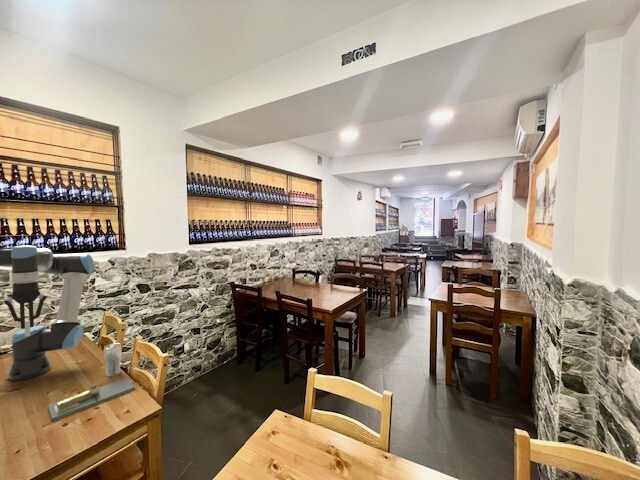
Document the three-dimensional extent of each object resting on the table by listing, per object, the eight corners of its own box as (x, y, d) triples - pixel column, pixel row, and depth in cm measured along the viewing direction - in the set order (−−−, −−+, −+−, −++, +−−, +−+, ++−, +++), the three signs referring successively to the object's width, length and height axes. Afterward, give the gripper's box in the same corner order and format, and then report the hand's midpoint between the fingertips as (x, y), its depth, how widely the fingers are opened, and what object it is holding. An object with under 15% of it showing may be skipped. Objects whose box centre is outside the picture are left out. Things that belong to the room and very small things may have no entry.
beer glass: (112, 378, 137) (111, 349, 136) (101, 376, 138) (100, 347, 137) (125, 371, 144) (124, 343, 143) (114, 369, 145) (113, 342, 144)
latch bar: (100, 393, 121) (100, 385, 121) (59, 411, 110) (59, 402, 109) (97, 391, 123) (97, 383, 123) (56, 407, 112) (56, 399, 111)
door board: (48, 407, 114) (48, 404, 114) (127, 379, 135) (127, 377, 135) (52, 421, 106) (51, 418, 106) (134, 389, 128) (134, 386, 128)
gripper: (2, 285, 109) (4, 342, 110) (48, 280, 119) (49, 333, 120) (2, 282, 113) (4, 337, 115) (45, 278, 124) (47, 328, 125)
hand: (27, 335), depth 117 cm, fingers closed
